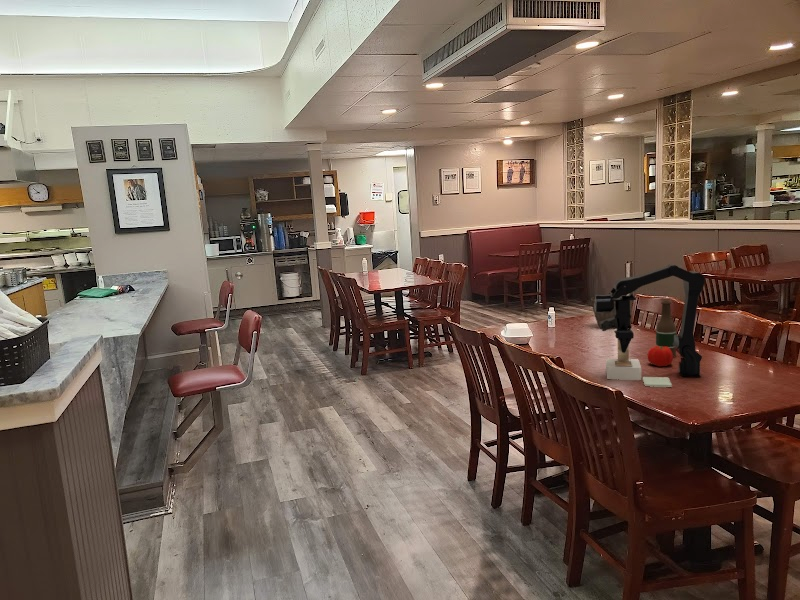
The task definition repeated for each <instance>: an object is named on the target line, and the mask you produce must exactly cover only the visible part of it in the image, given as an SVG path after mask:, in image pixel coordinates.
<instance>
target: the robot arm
mask: <svg viewBox="0 0 800 600" xmlns="http://www.w3.org/2000/svg"><path fill="white" fill-rule="evenodd" d="M670 277H676V278H678V279H680V280H682V283H683V290H684V295H685V297H684V303H683V311H682V317H681V325H680V331H679V333H678V334H676V335H674V342H673V345H674V348H675V350H676V353H677V354H678V355H680V359H679V361H678V373H679V374H680V376H681V375H682V376H681V377H683V376H689V377H688V378H692V377H693V378H702V375H701V372H700V371H701V361H702V360H703V356H702V355H701V354H700V353H699V352H697V351H696V341H695V335H694V331H695V330H694V329H695V325H696V324H695V323H696V316H697V309H698V303H699V297H700V295H701V293H702V292H703V289H704V286H705V283H706V277H705V275H704V274H702V273H701V272H698V271H695V270H687V269H684V268H682V267H679V266H678V265H676V264H673V263H670V264H668V265H666V266H663V267H660V268H656V269H654V270H650V271H648V272H645V273H643V274H639V275H636V276H627V277H621V278H618V279H616V280H615V281H614V283H613V287H612V289H611V290H610V291H609V293H608V294H603V295H602V294H595V296H594V297H595V302H594V310H595V313H600V312H611V310H613V309H614V301H615V314H614V317H613V318H609V319H606V320H603V321H601V322H599V323H600V326H601V328H602V329H601V328H600V329H601V330H602V332H607V330H611V328H612V329H613V330H614V334H615V335H614V336H615V338H616V339H617V340H618V339H619V340H620V345H621V349H622V353H625V352H626V350H627V347H628V345H629V346H630V342H631V340H632V339H634V338H635V337H634V331H633V329H632V327H633V326H632V301H636V300H637V299H638V298H636V297H635V296H634V295H633V292H635V291H636V290H638V289H640V288H641V287H643V286H646V285H650V284H653V283H655V282H657V281H661V280H664V279H668V278H670ZM619 297H620V298H619ZM690 376H691V377H690Z"/></svg>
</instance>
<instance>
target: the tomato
mask: <svg viewBox="0 0 800 600" xmlns="http://www.w3.org/2000/svg"><path fill="white" fill-rule="evenodd" d="M647 352H648V353H647V360H648V362H649V363H650V364H651V365H655V366H657V367H667V366H669V365H671V364H672V362H673V360H674V357H673V354H672V351H671V350H670V348H668V347H666V346H664V347H662V346H661V348H660V347H659V346H656V345H655V346H652V347H651V348H650V349H649V350H648V351H647Z"/></svg>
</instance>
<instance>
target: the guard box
mask: <svg viewBox="0 0 800 600" xmlns="http://www.w3.org/2000/svg"><path fill="white" fill-rule="evenodd" d="M616 364H630V365H616ZM605 372H606V377H607V379H617V380H616V381H639V380H641V381H642V366H641V363H640V360H639V359H638V358H629V362H625V363H623V362H618V358H605ZM618 379H619V380H618ZM620 379H621V380H620Z"/></svg>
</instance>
